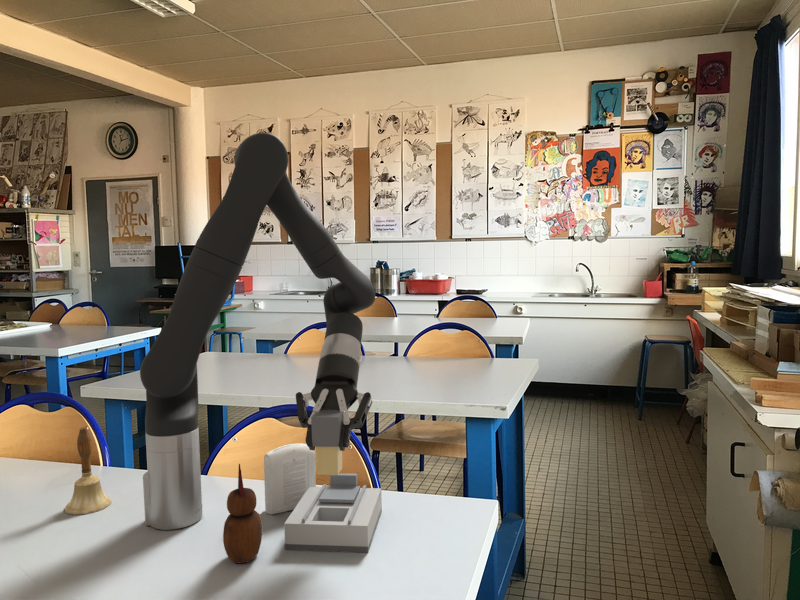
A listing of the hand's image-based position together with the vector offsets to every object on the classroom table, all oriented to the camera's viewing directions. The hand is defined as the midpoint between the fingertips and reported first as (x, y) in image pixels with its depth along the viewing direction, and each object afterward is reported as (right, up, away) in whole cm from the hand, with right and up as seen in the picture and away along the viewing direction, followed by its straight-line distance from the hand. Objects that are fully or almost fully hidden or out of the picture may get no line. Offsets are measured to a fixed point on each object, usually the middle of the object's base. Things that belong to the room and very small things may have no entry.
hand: (326, 448), depth 100 cm
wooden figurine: (-13, -17, -2) cm, 22 cm away
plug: (0, -4, +2) cm, 5 cm away
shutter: (+1, -11, +11) cm, 15 cm away
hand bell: (-50, -17, +20) cm, 56 cm away
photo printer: (-9, -16, +17) cm, 25 cm away
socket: (+1, -16, +7) cm, 18 cm away
